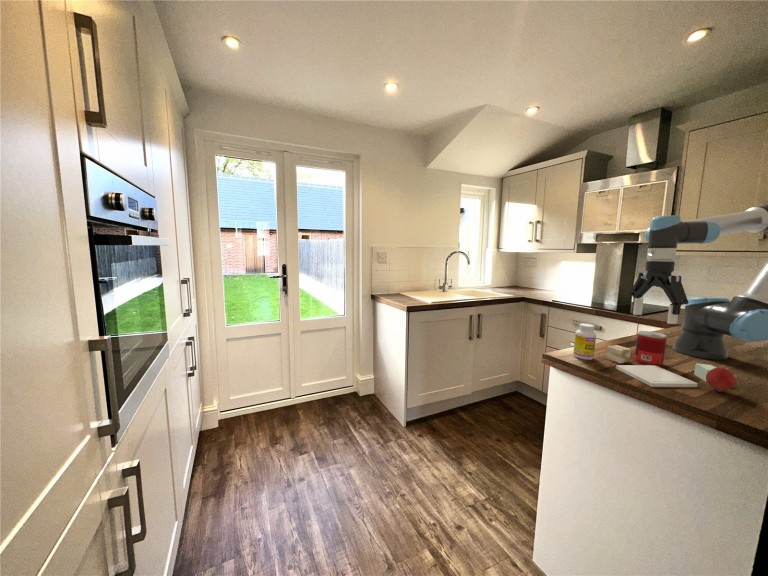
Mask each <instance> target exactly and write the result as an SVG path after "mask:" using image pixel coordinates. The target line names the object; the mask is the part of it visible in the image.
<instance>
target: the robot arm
mask: <svg viewBox="0 0 768 576" xmlns="http://www.w3.org/2000/svg"><path fill="white" fill-rule="evenodd" d="M745 232H747V233H753V234H756V233H762V232H763V233H765V232H768V204H763V205H759V206H753V207H750V208H748V209H746V210H744V211H739V212H733V213H727V214H721V215H714V216H708V217H701V218H696V219H690V220H689V219H688V220H684V221H682V220H681V216H680V215H660V216H659V215H657V216H654V217H653V218H652V219H651V221H650V223H649V228H647V229H646V231H645V234H644V239H645V240H646V242H647V243H648V244H647V252H646V253H647V254H646V260H647V261H646V262H645V271H646V272H639V273H638V276H637V278H636V281H635V282H634V284H633V286H632V288H631V289H630V291H629V296H632V297H633V312H632V314H633V316H642V315H643V306H644V295H645V294H646V293H647V292H648V291H649V290H650V289H652V287H657V288H660V289H662V290H663V292H664V293H665V295H666V296H667V298H668V300H669V302H670V304H668V310H667V311H668V313H667V320H666V321H667V322H666V324H668V325H677V324H678V317H679V315H680V314H681V308H682V306H684V311H683V319H682V327H681V328H682V329H681V332H680V334H679V335H678V337H677V339H676V341H675V342H674V343H673V348H672V349H673V351H676V352H678V353H680V354H684V355H687V356H692V357H697V358H702V359H707V360H715V361H716V360H718V361H719V360H720V361H721V360H722V361H723V360H727V359H728V355H729V352H728V350H727V346H726V342H725V338H724V337H725V336H729V337H733V338H736V339H739V340H742V341H743V340H744V341H749V342H756V343H759V342H765V341H766V342H767V341H768V260H767V261H766V262H765V264H764V265H763V266H762V267H761V269H760V270H759V272H757V275H755V277H754V278H753V280H752V281H751V283H749V285H748V286H747V288H746V289H745V291H744V292H743V293H741V294H737V295H734V296H733V297H732V299H731V300H730V299H729V298H727V297H726V298H725V297H697V296H694V297H689V298H688V296H687V294H686V291H685V288H684V286H683V283H682V275H672V273H673V272H674V271H675V265H676V262H675V261H674V260H676V257H677V248H678V244H679V245H680V244H681V245H684V244H687V245H688V244H700V245H702V244H710V243H713V242H714V241H716V240H717V239H718V238H720V237H719V236H724V235H730V234H731V235H732V234H738V233H745Z"/></svg>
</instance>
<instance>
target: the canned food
mask: <svg viewBox="0 0 768 576" xmlns="http://www.w3.org/2000/svg"><path fill="white" fill-rule="evenodd" d="M667 338H668V337H667V335H666V334H664V333H661V332H655V331H649V330H639V331H638V332H637V335H636V344H635V351H634V352H635V353H634V360H635V361H636V362H637V363H640V364H642V365H656V366H658V367H660V366H662V365H663V364H664V359H665V353H666V345H667V344H666V343H667Z"/></svg>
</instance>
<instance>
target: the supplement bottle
mask: <svg viewBox="0 0 768 576" xmlns="http://www.w3.org/2000/svg"><path fill="white" fill-rule="evenodd" d="M594 330H595V325H594V324H590V323H579V329H577V330H576V331H575V334H574V344H573V354H572V355H573V356H574V357H576V358H578V359H581V360H585V361H587V360H590V361H591V360H593V359H594V358H595V349H596V342H597V334H596V332H594Z"/></svg>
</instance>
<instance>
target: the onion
mask: <svg viewBox="0 0 768 576" xmlns="http://www.w3.org/2000/svg"><path fill="white" fill-rule="evenodd" d="M706 380H707V382H706V383H708V384H709V386H711V387H712V388H713V389H715V390H716V391H717V392H724V391H727V390H729V389H733V388H734V387H735V385H736V384H737V379H736V377H735V376H734V375H733V373H732V372H730V371H729V370H728V369H727V368H726V366H725V365H721V366H718V367H716V368H714V369H712V370H710V371H709V372H708V373H707V374H706Z"/></svg>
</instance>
